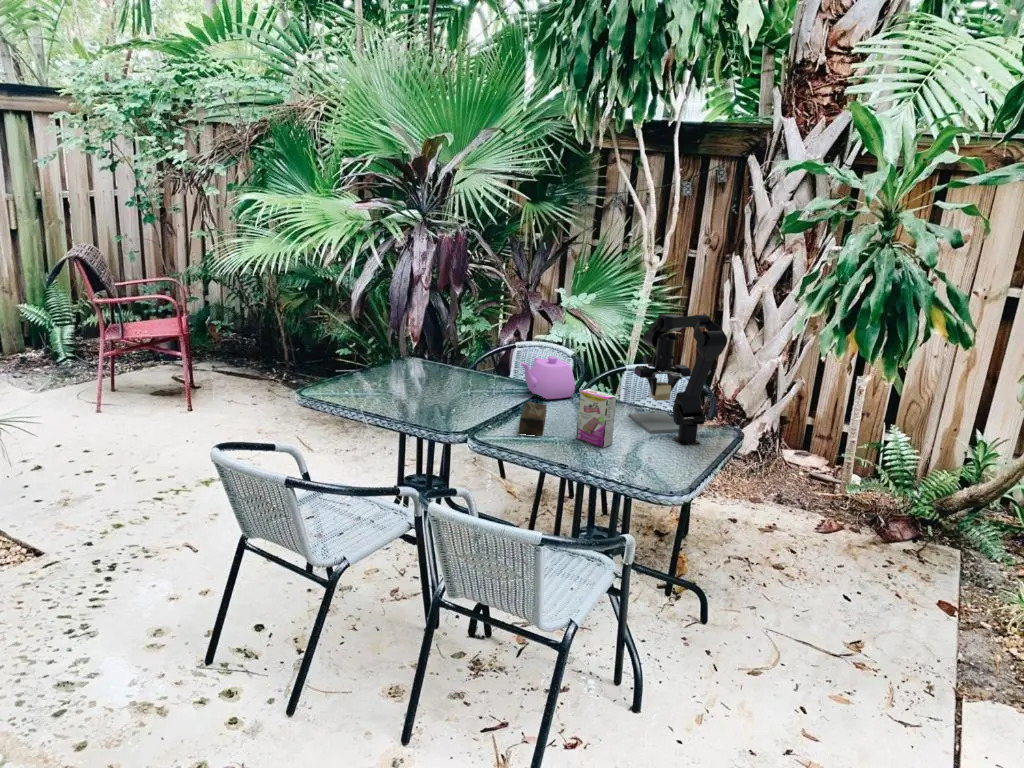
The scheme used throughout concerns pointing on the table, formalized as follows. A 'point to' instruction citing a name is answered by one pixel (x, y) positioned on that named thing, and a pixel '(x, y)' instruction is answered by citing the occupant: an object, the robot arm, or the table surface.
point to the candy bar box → (596, 417)
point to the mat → (655, 422)
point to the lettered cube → (662, 391)
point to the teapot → (550, 378)
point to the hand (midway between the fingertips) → (660, 395)
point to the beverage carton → (533, 419)
